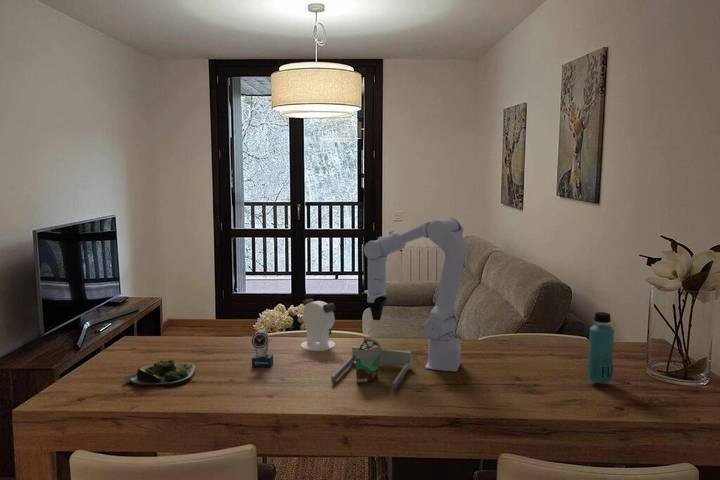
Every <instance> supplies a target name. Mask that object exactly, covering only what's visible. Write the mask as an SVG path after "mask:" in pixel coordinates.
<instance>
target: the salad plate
mask: <svg viewBox="0 0 720 480" xmlns="http://www.w3.org/2000/svg"><path fill="white" fill-rule="evenodd" d="M195 371H196V365H195V364H192V363H188V362H186V363H184V362H182V363H176V361H175V360H173V359H171V358H170V359H168V358H165V359H164V360H162V359H161V360H159V361H156V362H154V363H153V364H148V365H145V366H141V367H140V368H138V369H137V371H136V373H133V374H131V375H129V376H126V377H124V379H123V380H124V381H126V382H129V383H131V384H133V385H134V386H135V385H136V386H135V387H137V386H139V387H138V388H142V387H165V388H174V387H178V386H181V385H183V384H186V383H187V382H188V381H190V380H192V378H193V375H194V374H195ZM173 386H174V387H173Z"/></svg>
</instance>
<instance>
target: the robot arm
mask: <svg viewBox="0 0 720 480" xmlns="http://www.w3.org/2000/svg"><path fill="white" fill-rule="evenodd" d="M463 232H464V227H463V226H462V225H461V224H460V222H459V221H458V220H457V219H456V218H454V217H446V218H443V219H438V220H437V219H434V220H431V221H427V222H424V223H421V224H419V225H416V226H414V227H412V228H410V229H408V230H406V231H404V232H401V231H395V230H390V231H389V232H388V234H387V235H383V236H379V237H377V239H376V240H369V241H368V242H366V243H365V244H364V246H363V247H364V248H363V253H364V255H365V257H366V258H367V289H366V290H364V292H363V293H364V294H365V295H366V294H367V296H366V302H367V304H368V307H369V309H370V312H371V317H372V320H373V321H380V320H381V318H382V314H383V310H384V306H385V303H386V301H387V299H388V297H387V296H386V295H387V290H386V289H387V288H386V285H387V283H386V282H387V277H386V276H387V273H386V272H387V271H386V270H387V269H386V268H387V265H386V264H387V261H388V260H387V258H388V255H390V254H393V253H396V252H398V251H402V250H403V249H404V248H406V244H407V243H409V242H412V241H415V240H419V239H420V238H425V239H430V241H431V242H433V243H434V244H435V245H436V246H437V247H439V248H440V249H441V250H442V251H443V252H444V254H445V256H444V262H443V267H442V271H441V277H440V280H439V286H438V290H437V295H436V301H435V305H434V307H433V308H432V309H431V311H430V312H429V316H428V319H427V320H426V321H425V323H424V327H423V328H424V329H423V330H424V331H425V332H424V333H425V334H426V335H427V339H428V356H427V357H428V360H427V363H426V365H425V367H424V369H426V370H435V371H445V372H454V373H455V372H458V370H459V368H460V365H461V363H462V361H461V359H462V358H461V349H462V348H461V347H462V344H461V343H462V342H461V339H460V338H457V337H454V332H455V331H456V330H457V328H458V319H457V314H458V311H457V310H456V309H455V305H456V304H455V303H456V299H457V296H458V295H457V294H458V290H459V286H460V285H459V284H460V280H461V277H462V276H461V275H462V271H463V267H464V262H465V259H466V258H465V256H466V254H467V253H466V252H467V251H466V249H467V248H466V244H465V239H464V236H463Z"/></svg>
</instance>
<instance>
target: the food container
mask: <svg viewBox="0 0 720 480" xmlns="http://www.w3.org/2000/svg"><path fill="white" fill-rule="evenodd" d="M359 347H360V348H359V350H356V355H355V358H356V361H355V370H356V371H355V374H356V385H369V384H370V385H371V384H373V383H375V382H377V381H378V379H379V378H378V377H379V365H380V363H379V354H381V352H382V350H381V349H382V345H381V343H380V342H379V341H378V340H375V339H372V338H367V337H365V338H363V343H362V344H360V346H359Z"/></svg>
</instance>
